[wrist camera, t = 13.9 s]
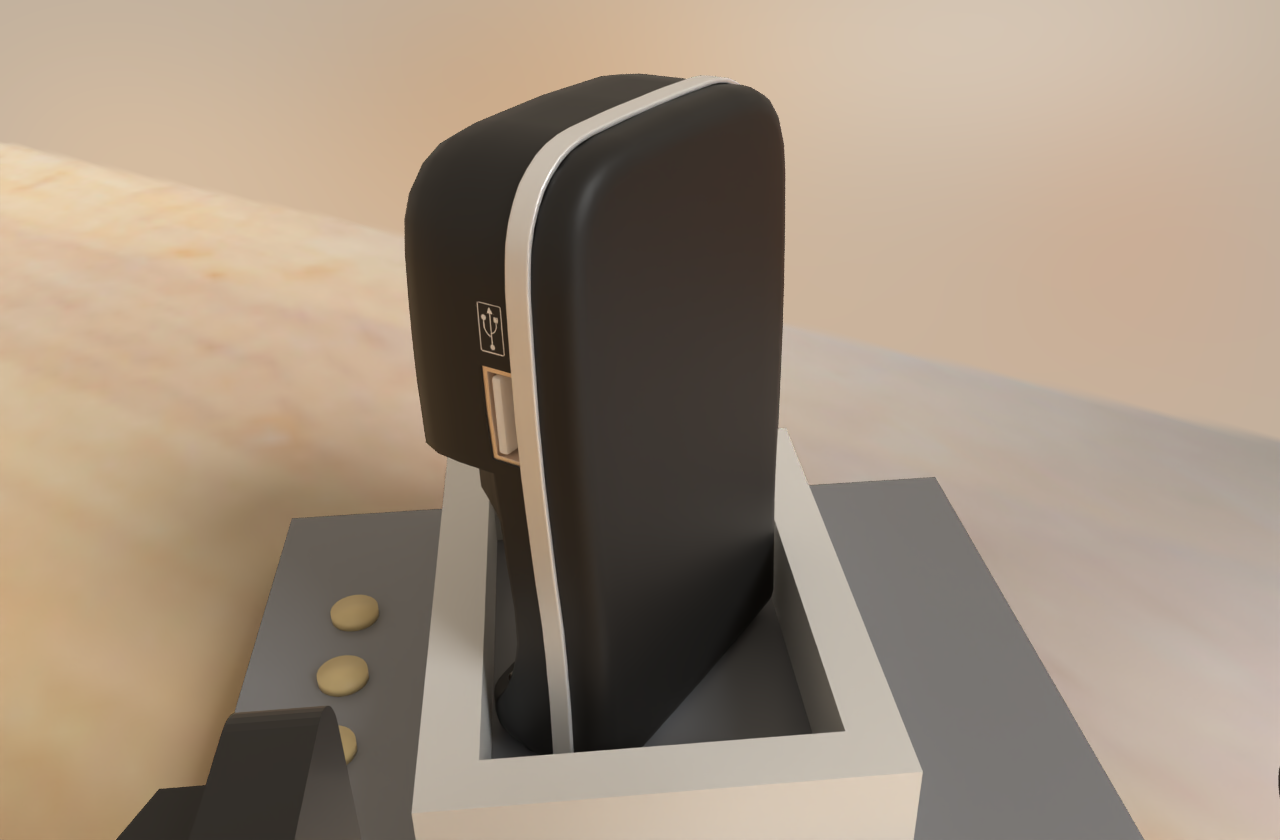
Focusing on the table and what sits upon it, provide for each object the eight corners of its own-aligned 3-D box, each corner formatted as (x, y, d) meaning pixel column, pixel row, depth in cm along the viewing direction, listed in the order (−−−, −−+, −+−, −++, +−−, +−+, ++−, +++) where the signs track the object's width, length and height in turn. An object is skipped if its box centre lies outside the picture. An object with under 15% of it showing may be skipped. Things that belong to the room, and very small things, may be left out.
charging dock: (930, 516, 31) (943, 407, 29) (1143, 911, 20) (1182, 775, 19) (299, 558, 29) (278, 448, 28) (180, 999, 19) (134, 862, 17)
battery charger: (636, 548, 28) (614, 41, 22) (784, 598, 26) (799, 59, 20) (435, 732, 22) (341, 133, 17) (600, 811, 21) (555, 169, 15)
